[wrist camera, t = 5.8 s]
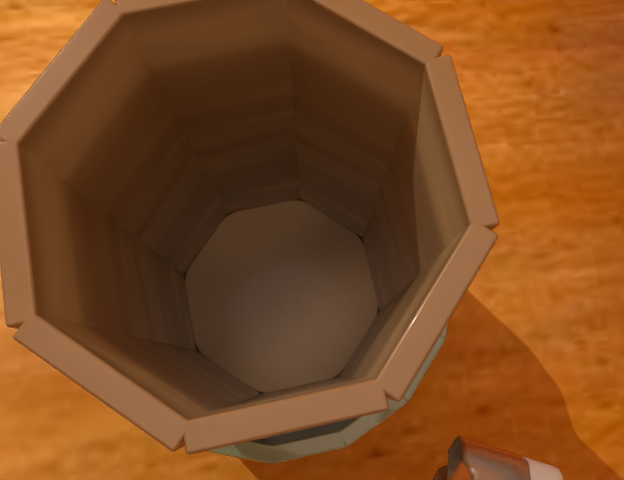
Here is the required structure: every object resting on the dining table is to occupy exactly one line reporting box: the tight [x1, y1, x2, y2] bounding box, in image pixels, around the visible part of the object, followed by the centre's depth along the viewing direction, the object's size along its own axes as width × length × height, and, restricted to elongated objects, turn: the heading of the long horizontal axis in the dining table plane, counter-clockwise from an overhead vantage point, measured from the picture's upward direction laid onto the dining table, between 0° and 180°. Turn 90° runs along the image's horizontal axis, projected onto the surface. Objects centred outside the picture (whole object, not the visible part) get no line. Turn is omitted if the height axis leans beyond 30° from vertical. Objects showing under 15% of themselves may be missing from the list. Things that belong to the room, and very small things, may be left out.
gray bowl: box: [184, 199, 449, 464], centre depth 16 cm, size 9×9×5 cm
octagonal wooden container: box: [0, 0, 500, 455], centre depth 13 cm, size 6×6×11 cm
